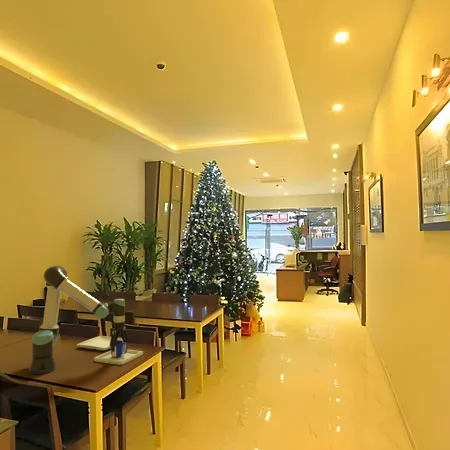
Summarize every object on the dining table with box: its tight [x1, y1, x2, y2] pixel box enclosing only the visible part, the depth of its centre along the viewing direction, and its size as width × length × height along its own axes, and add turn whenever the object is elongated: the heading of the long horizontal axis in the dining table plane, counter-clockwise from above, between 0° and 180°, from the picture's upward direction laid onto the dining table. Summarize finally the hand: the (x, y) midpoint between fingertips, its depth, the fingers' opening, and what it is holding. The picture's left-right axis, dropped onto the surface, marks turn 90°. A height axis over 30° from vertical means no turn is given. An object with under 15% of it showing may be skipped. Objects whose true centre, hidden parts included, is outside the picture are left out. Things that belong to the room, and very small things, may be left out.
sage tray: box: [93, 349, 144, 366], centre depth 256 cm, size 23×23×2 cm
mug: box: [110, 340, 128, 358], centre depth 256 cm, size 8×12×10 cm
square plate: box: [76, 335, 123, 351], centre depth 287 cm, size 27×27×4 cm
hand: (119, 353), depth 256 cm, fingers open, 10 cm apart
